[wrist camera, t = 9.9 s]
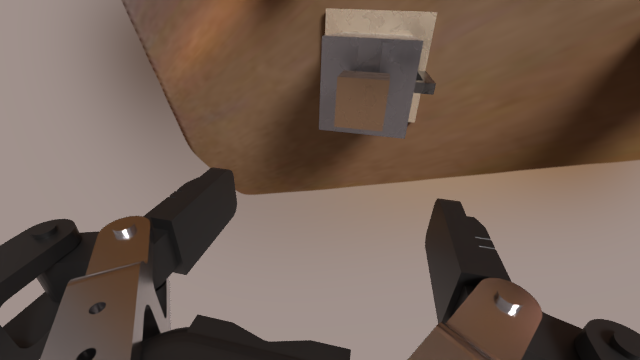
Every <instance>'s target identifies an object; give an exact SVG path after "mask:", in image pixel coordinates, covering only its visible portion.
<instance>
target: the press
mask: <svg viewBox="0 0 640 360" xmlns="http://www.w3.org/2000/svg"><path fill="white" fill-rule="evenodd" d="M436 16H437V12H416V11H386V10H356V9H327V8H326V22H325V35H323V36H322V54H321V82H320V110H319V130H328V131H337V132H347V133H356V134H366V135H375V136H385V137H394V138H404V139H405V135H406V129H407V124H408V122H415V118H416V113H417V108H418V103H419V99H420V94H434V89H435V85H436V83H435V82H434V81H433V80H432V78H431V77H430V76H429V75H428V73H427V72H426V71H425V70H426V65H427V60H428V55H429V50H430V45H431V40H432V36H433V31H434V26H435V21H436ZM343 70H347V71H361V72H376V73H390V84H389V90H388V97H387V104H386V110H385V117H384V124H383V130H382V131H372V130H362V129H352V128H343V127H334V122H335V106H336V90H337V77H338V76H339V75H340V74H341V73H342V72H343Z"/></svg>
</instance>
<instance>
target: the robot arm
mask: <svg viewBox="0 0 640 360" xmlns="http://www.w3.org/2000/svg"><path fill="white" fill-rule="evenodd" d="M236 207H237V199H236V192H235V184H234V176H233V173H232V171H231V170H227V169H220V168H210V169H209V170H208V171H207V172H205V173H204V174H203V175H202V176H200V177H198V178H196V179H194V180H192V181H190V182H187V183H185V184H184V185H183V186H181V187H180V188H179V189H178V190H177V191H175V192H174V193H173V194H171V195H170V197H168V198H166V199H165V200H164V201H162V202H161V203H160V204H159V205H157V206H156V207H155V208H153V209H152V210H151V211H150V212H148V213H147V214H146V215H145V216H129V217H125V218H121V219H118V220H115V221H113V222H111V223H109V224H108V225H106V226H105V227H104V228H103V229H101V231H100V232H85V233H79V231H78V229H77V227H76V225H75V223H74V222H73V221H71V220H68V219H57V220H51V221H47V222H43V223H40V224H38V225H36V226H33V227H31V228H29V229H27V230H25V231H24V232H22V233H20V234H19V235H17V236H15V237H14V238H12V239H10V240H9V241H7V242H5V243H4V244H2V245H1V246H0V307H1V306H2V304H3V303H4V302H5V301H7V300H8V299H9V298H10V297H12V296H13V295H14V294H16V293H17V292H18V291H19V290H21V289H22V288H23V287H25V286H26V285H27V284H28V283H30V282H31V281H33V280H34V279H35V278H37V279H38V281H39V282H40V284H41V285H42V287H43V289H44V290H45V292H44V293H43V294H42V295H41V296H40V297H38V298H37V299H36V300H35V301H34V302H32V303H31V304H30V305H29V306H28V307H26V308H25V309H24V310H23V311H22V312H20V313H19V314H18V315H17V316H16V317H15V318H13V319H12V320H11V321H10V322H8V323H7V324H6V325H5V326H4V327H1V326H0V360H39V359H40V360H350V352H351V350H350V349H346V348H341V347H337V346H333V345H328V344H324V343H320V342H315V341H311V340H310V341H281V342H280V341H279V342H268V341H264V340H262V339H261V338H259V337H257V336H255V335H254V334H252V333H250V332H248V331H247V330H244V329H243V328H241V327H240V326H238V325H236V324H234V323H232V322H228V321H223V320H219V319H215V318H210V317H206V316H201V315H197V316H196V318H195V319H194V321H193V322H192V324H191V326H190V327H185V328H178V329H174V330H171V323H170V283H169V279H168V277H169V275H170V274H171V273H172V272H175V273H179V274H184V275H187V273H188V272H189V271H190V270H191V268H192V267H193V266H194V265H195V263H196V262H197V261H198V260H199V258H200V257H201V256H202V255H203V253H204V252H205V251H206V250H207V249H208V247H209V246H210V245H211V244H212V242H213V241H214V240H215V239H216V237H217V236H218V235H219V234H220V232H221V231H222V229H224V227H225V226H226V225H227V224H228V222H229V221H230V220H231V218H232V217H233V216H234V214H235V212H236ZM425 248H426V253H427V260H428V266H429V272H430V278H431V284H432V289H433V295H434V301H435V307H436V313H437V319H438V325H437V326H436V327H435V328H434V329H433V330H432V331H431V333H430V334H429V335H428V336H427V337H426V338H425V340H424V341H423V342H422V343H421V344H420V345H419V347H418V348H417V349H416V350H415V352H413V354H412V355H411V356H410V357H409V358H408V359H407V360H640V334H638V333H637V332H635V331H633V330H631V329H630V328H628V327H626V326H623V325H621V324H618V323H616V322H613V321H609V320H604V319H594V320H591V321H589V322H588V323H587V325H586V326H585V327H584V328H583V329H581V328H579V327H576V326H574V325H572V324H569V323H567V322H564V321H562V320H559V319H557V318H554V317H552V316H550V315H548V314H545V313H543V312H542V310H541V307H540V306H539V304H538V302H537V301H536V300H535V298H533V296H532V295H531V294H530V293H528V292H527V291H526V290H525V289H523V288H522V287H520V286H518V285H516V284H515V283H512V282H511V280H510V278H509V276H508V274H507V272H506V270H505V268H504V266H503V263H502V261H501V259H500V257H499V255H498V253H497V251H496V250H495V247H494V245H493V243H492V241H491V240H490V236H489V234H488V232H487V230H486V228H485V227H484V226H483V225H482V224H481V223H480V222H479V221H478V220H477V219H475V218H474V217H467V216H466V214H465V212H464V209H463V207H462V204H461V202H459V201H453V200H445V199H437V200H436V202H435V205H434V208H433V212H432V215H431V219H430V222H429V226H428V229H427V233H426V241H425Z"/></svg>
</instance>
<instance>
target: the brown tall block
mask: <svg viewBox="0 0 640 360" xmlns="http://www.w3.org/2000/svg"><path fill="white" fill-rule="evenodd" d="M389 84H390V73H376V72H361V71H347V70H343V72H342V73H341V74H340V75H339V76H338V77H337V90H336V106H335V122H334V127H343V128H352V129H362V130H372V131H382V130H383V124H384V117H385V110H386V104H387V97H388V90H389Z"/></svg>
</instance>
